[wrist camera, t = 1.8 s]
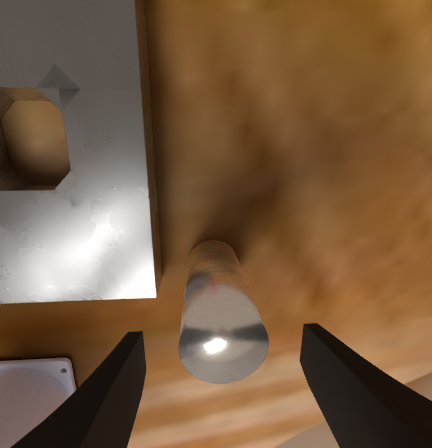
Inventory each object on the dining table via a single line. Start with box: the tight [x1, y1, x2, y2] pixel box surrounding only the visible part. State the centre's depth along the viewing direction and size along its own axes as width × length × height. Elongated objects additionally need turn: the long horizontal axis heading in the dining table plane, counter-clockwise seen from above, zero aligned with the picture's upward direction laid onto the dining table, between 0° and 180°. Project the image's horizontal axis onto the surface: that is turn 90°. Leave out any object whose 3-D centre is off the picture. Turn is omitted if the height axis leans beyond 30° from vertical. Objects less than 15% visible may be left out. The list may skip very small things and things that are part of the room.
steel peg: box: [179, 240, 269, 384], centre depth 15 cm, size 4×4×9 cm
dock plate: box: [0, 0, 162, 304], centre depth 15 cm, size 20×14×3 cm
